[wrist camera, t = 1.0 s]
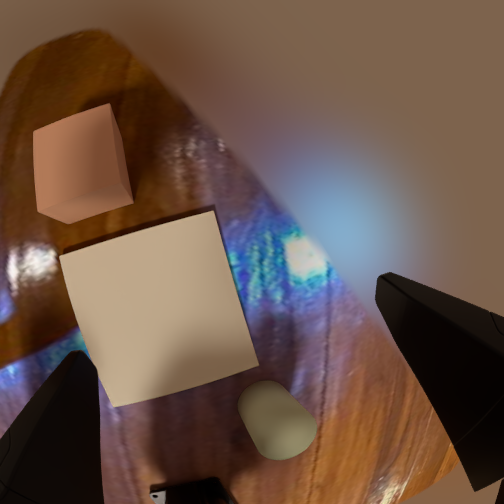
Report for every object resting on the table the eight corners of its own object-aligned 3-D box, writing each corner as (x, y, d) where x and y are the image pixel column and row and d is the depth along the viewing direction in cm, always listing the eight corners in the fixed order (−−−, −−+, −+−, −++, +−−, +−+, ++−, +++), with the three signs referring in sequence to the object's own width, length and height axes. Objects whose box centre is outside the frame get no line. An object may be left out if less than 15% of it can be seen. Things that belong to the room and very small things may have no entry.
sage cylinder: (292, 412, 20) (321, 443, 15) (246, 431, 19) (265, 468, 14) (281, 372, 20) (310, 399, 15) (230, 391, 19) (247, 425, 14)
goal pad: (257, 363, 19) (259, 365, 19) (114, 404, 16) (113, 407, 16) (212, 211, 19) (213, 210, 18) (61, 256, 16) (59, 256, 15)
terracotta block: (134, 203, 18) (120, 182, 13) (68, 224, 16) (37, 211, 11) (122, 138, 17) (109, 103, 13) (60, 159, 16) (33, 131, 11)
